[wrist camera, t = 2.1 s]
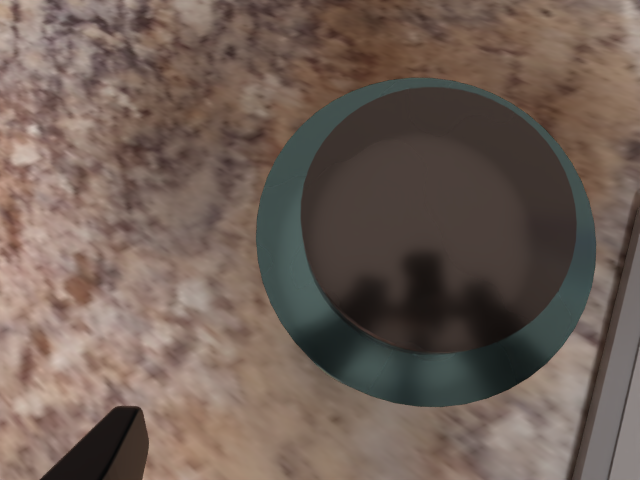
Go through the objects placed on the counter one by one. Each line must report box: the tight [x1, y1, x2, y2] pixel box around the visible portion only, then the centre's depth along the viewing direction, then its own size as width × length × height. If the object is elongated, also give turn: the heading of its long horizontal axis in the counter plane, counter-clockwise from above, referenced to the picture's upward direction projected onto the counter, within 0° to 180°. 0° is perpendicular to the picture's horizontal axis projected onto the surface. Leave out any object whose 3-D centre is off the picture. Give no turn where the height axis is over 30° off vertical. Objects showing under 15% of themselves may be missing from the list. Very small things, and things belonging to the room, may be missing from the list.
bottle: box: [256, 78, 596, 407], centre depth 14 cm, size 5×5×13 cm
